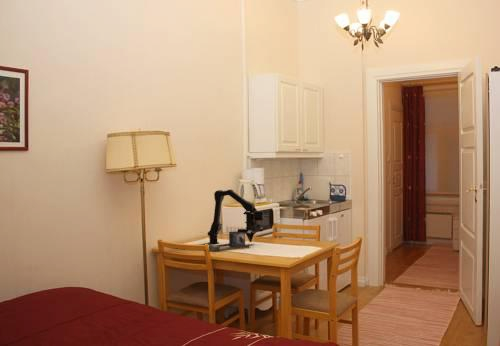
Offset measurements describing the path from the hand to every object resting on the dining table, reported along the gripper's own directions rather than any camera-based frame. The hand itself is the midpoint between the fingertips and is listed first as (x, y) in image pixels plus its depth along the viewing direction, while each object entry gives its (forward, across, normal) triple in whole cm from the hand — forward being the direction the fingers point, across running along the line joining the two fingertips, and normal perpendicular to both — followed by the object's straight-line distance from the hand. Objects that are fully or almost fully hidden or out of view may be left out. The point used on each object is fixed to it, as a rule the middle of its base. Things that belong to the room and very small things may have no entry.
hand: (250, 242), depth 340 cm
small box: (+2, -12, 0) cm, 12 cm away
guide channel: (+2, -20, 0) cm, 20 cm away
